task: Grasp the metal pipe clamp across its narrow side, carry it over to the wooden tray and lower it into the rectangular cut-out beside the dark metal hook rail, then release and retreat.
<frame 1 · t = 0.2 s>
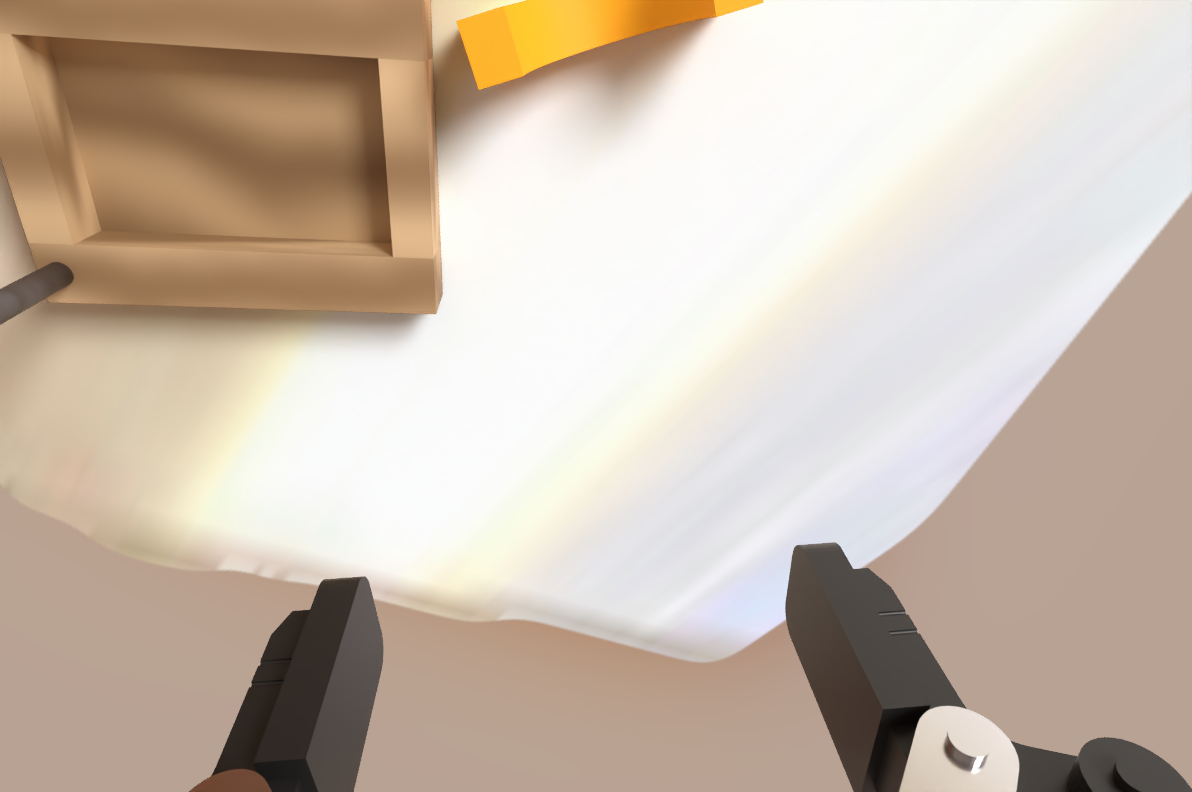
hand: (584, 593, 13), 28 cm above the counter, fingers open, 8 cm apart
wooden tray: (242, 144, 35), on the counter
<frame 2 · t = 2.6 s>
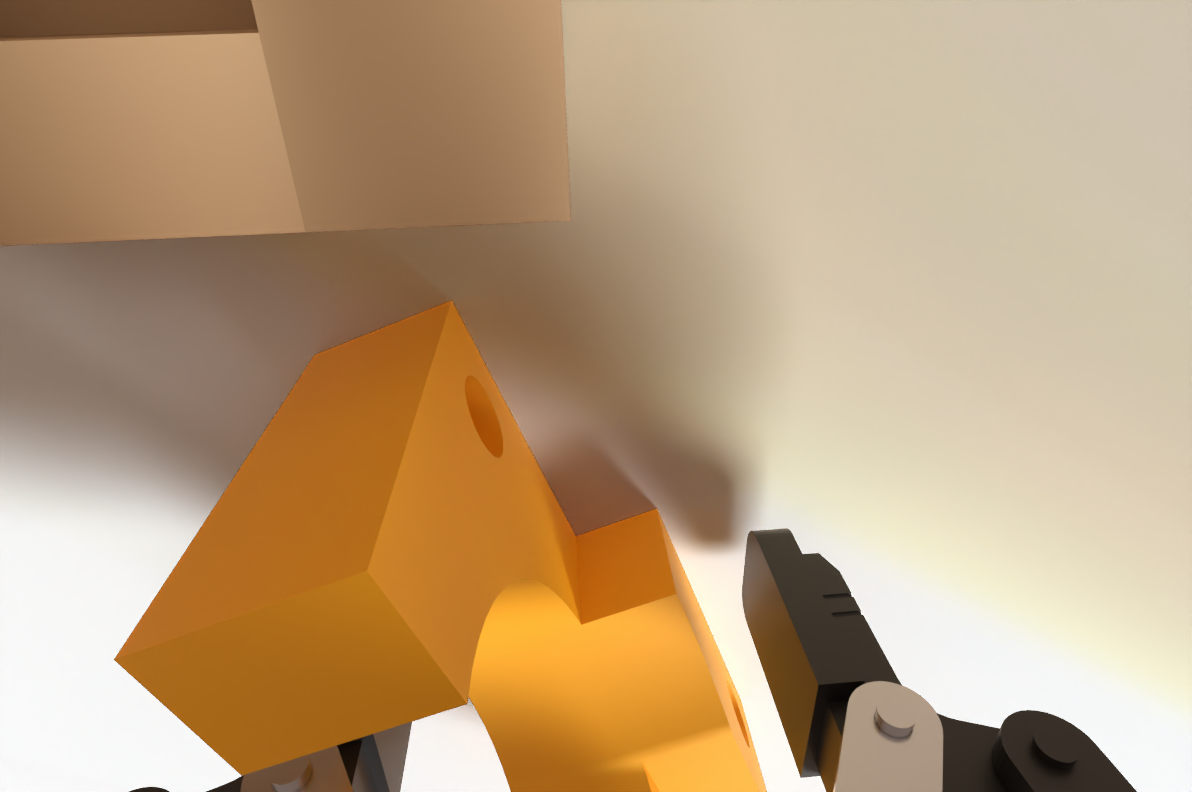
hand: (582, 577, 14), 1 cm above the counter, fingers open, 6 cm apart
pipe clamp: (565, 548, 15), on the counter, touching gripper
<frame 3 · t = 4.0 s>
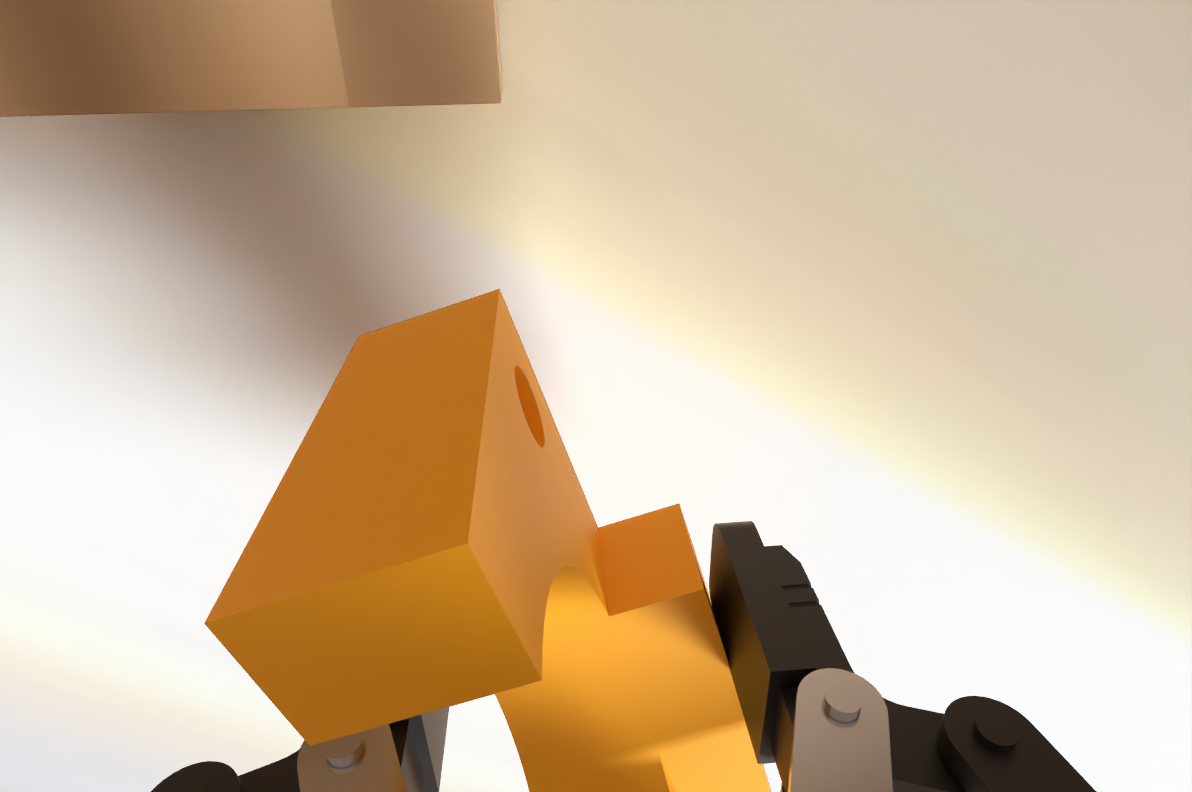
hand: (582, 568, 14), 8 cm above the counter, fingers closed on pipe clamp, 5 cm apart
pipe clamp: (585, 543, 15), point 7 cm above the counter, touching gripper
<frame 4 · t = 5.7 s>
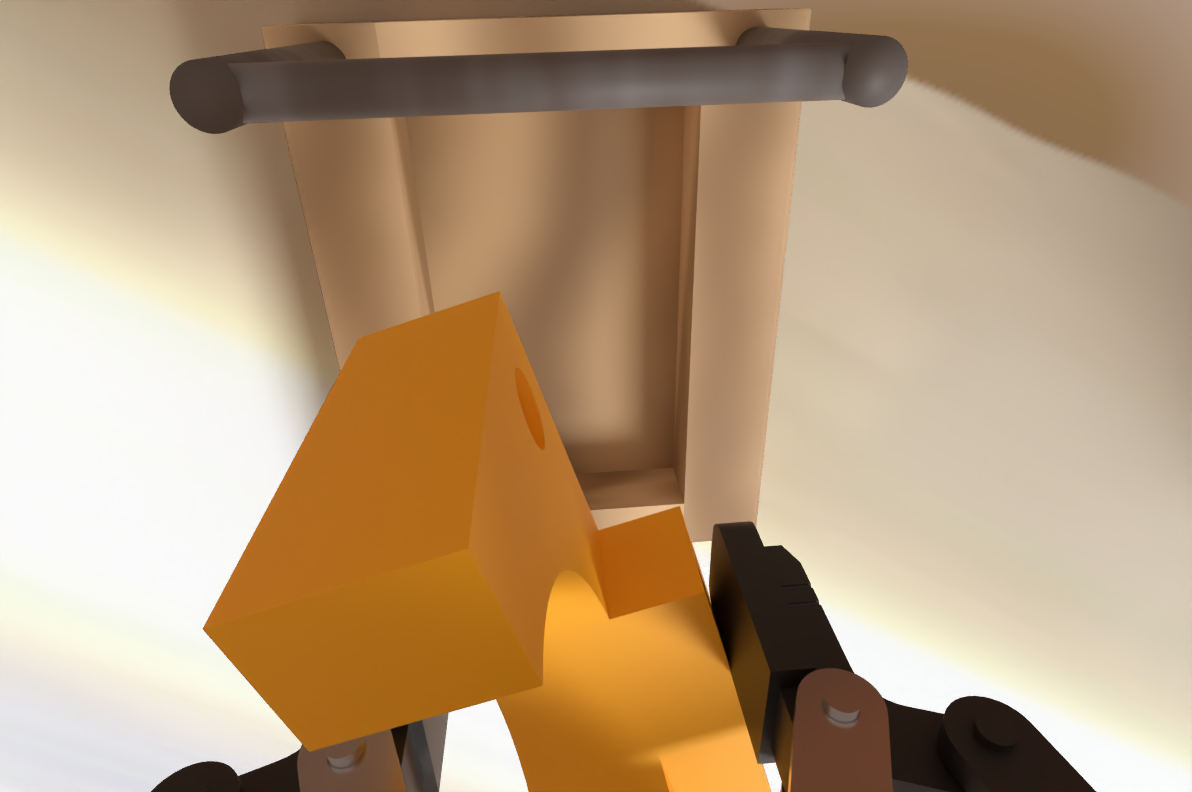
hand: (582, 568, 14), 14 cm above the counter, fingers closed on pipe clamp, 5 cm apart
wooden tray: (557, 303, 26), on the counter
pipe clamp: (585, 545, 15), point 13 cm above the counter, touching gripper
when the fingers open (3 cm above the counter, at t = 7.5 s): pipe clamp drops 2 cm, resting on wooden tray.
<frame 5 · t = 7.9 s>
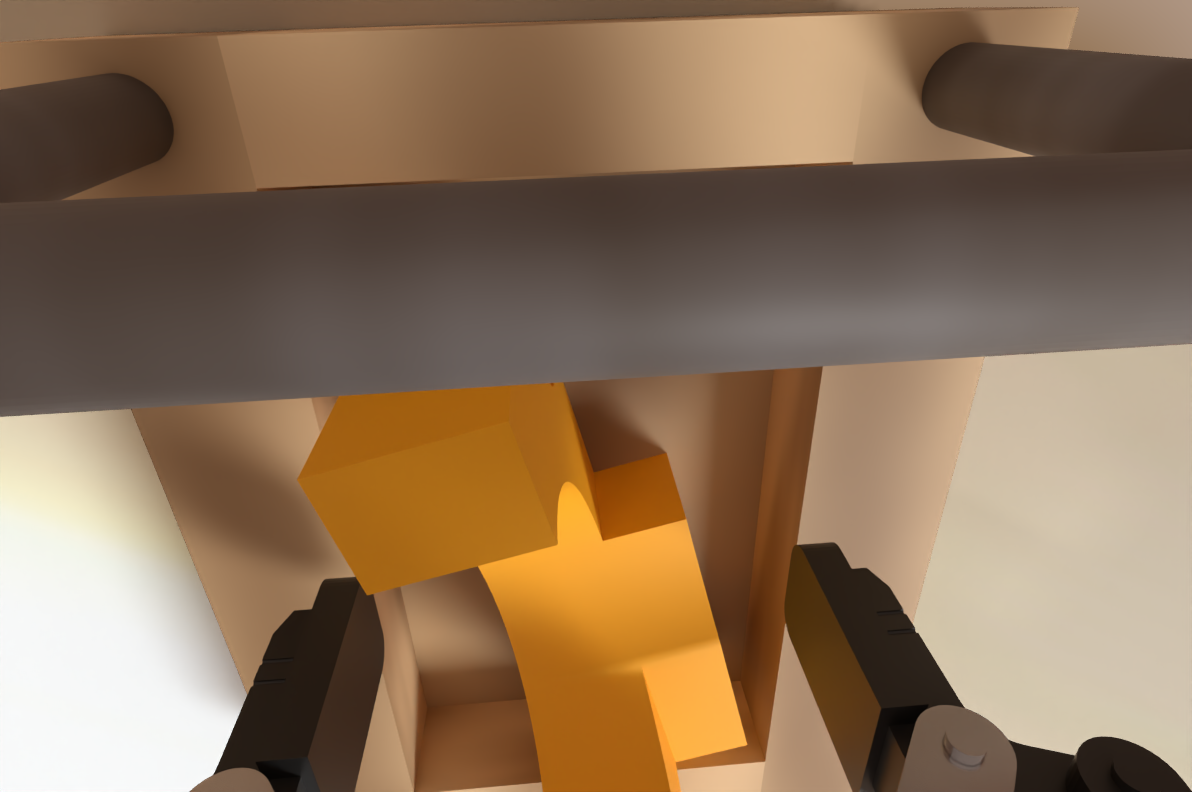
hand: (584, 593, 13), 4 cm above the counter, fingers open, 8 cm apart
wooden tray: (573, 468, 17), on the counter
pipe clamp: (581, 486, 17), resting on wooden tray
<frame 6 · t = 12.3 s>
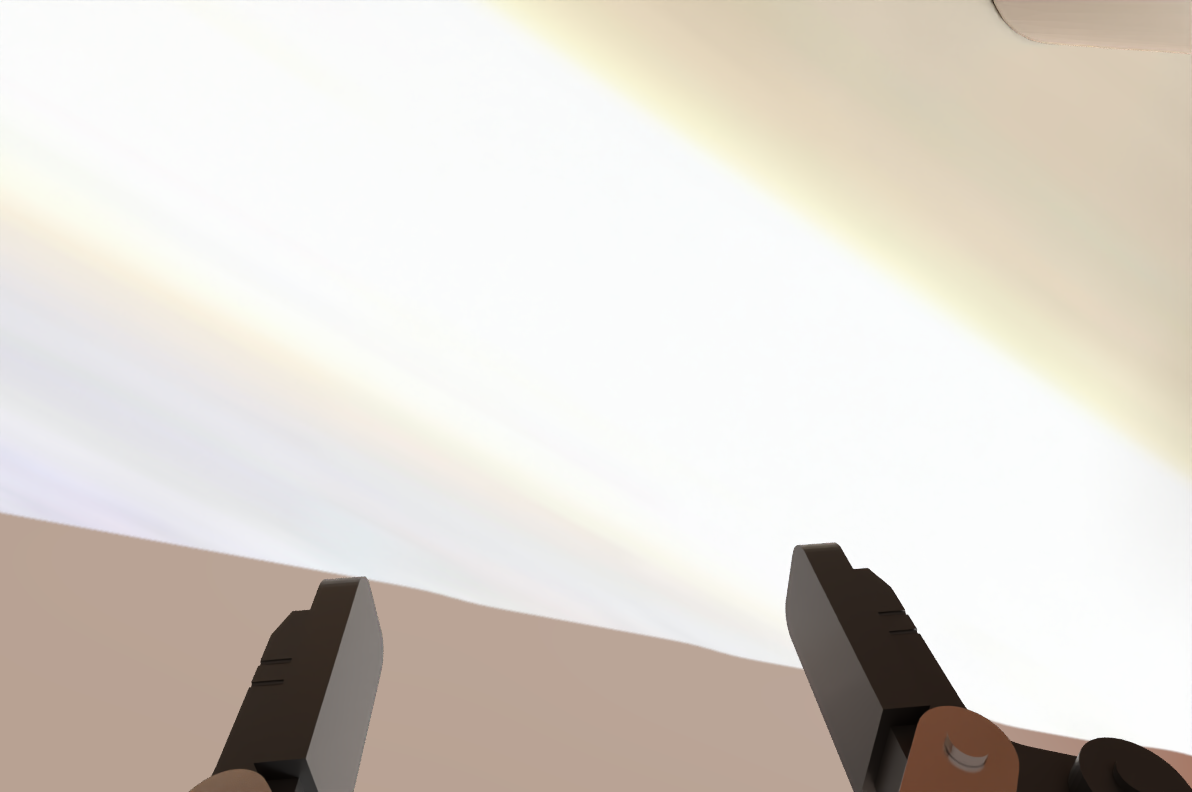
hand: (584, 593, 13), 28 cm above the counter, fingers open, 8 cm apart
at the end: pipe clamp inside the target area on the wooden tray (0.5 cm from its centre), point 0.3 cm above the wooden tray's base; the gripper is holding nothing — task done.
